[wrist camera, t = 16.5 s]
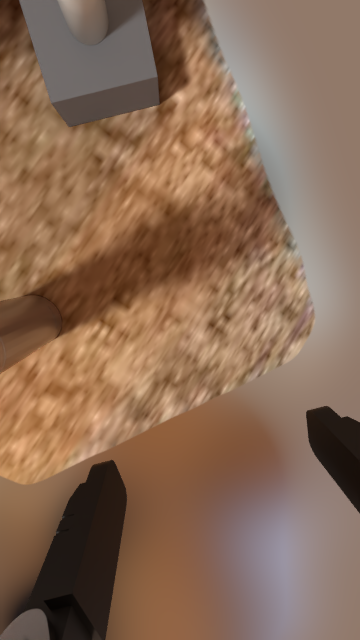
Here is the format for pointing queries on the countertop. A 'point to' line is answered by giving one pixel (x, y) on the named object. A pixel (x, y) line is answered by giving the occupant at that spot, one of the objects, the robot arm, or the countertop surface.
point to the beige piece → (86, 19)
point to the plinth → (94, 62)
